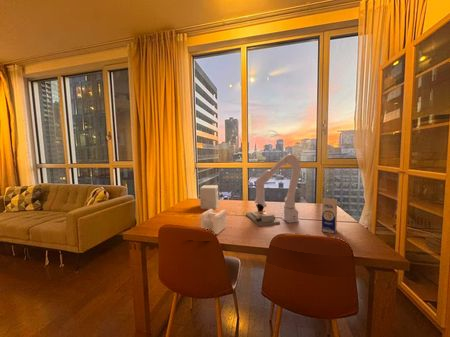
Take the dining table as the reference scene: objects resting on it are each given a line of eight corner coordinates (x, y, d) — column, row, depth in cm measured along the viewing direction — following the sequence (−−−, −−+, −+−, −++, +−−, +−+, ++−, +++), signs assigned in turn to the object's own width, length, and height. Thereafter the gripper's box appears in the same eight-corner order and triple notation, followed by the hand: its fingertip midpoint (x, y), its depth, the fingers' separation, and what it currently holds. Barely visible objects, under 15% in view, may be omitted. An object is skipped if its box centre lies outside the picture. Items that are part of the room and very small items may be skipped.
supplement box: (219, 204, 185) (218, 185, 183) (216, 209, 172) (215, 187, 170) (204, 204, 187) (203, 185, 185) (200, 208, 174) (199, 187, 172)
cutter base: (279, 223, 135) (279, 215, 135) (259, 226, 132) (259, 218, 131) (263, 213, 158) (263, 205, 158) (246, 215, 155) (245, 207, 154)
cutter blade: (270, 219, 138) (270, 214, 138) (263, 220, 137) (263, 215, 136) (264, 215, 147) (264, 210, 147) (257, 216, 146) (257, 211, 145)
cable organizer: (212, 225, 137) (211, 207, 136) (227, 227, 133) (227, 209, 131) (200, 234, 123) (200, 214, 122) (217, 236, 119) (216, 216, 118)
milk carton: (321, 231, 122) (321, 197, 120) (323, 227, 127) (324, 195, 125) (335, 234, 118) (336, 198, 116) (336, 230, 123) (337, 196, 121)
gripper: (250, 193, 152) (251, 212, 153) (259, 198, 138) (259, 218, 139) (260, 192, 153) (260, 211, 155) (269, 197, 139) (269, 217, 141)
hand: (260, 214), depth 147 cm, fingers closed
